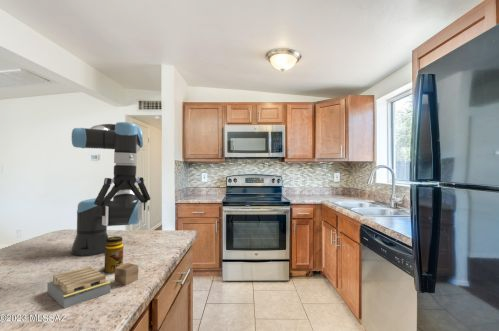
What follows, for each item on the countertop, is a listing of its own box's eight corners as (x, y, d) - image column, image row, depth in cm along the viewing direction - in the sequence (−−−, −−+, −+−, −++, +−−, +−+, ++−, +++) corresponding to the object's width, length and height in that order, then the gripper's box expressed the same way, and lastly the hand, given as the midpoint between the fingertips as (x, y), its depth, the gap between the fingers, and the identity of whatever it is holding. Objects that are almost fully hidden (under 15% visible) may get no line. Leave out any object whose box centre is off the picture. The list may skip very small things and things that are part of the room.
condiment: (121, 273, 94) (122, 240, 94) (95, 275, 92) (95, 241, 92) (126, 266, 101) (126, 234, 101) (101, 267, 99) (102, 235, 99)
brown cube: (114, 283, 86) (114, 267, 86) (126, 277, 91) (127, 262, 91) (125, 285, 84) (126, 270, 84) (137, 280, 89) (138, 265, 89)
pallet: (52, 282, 79) (52, 275, 79) (89, 272, 87) (89, 266, 87) (67, 294, 72) (67, 287, 72) (105, 282, 80) (105, 275, 80)
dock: (47, 292, 79) (47, 282, 79) (90, 279, 88) (91, 270, 88) (64, 308, 70) (64, 296, 70) (110, 292, 80) (110, 282, 80)
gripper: (94, 164, 85) (92, 229, 85) (160, 165, 106) (158, 218, 106) (83, 163, 90) (82, 226, 90) (149, 165, 110) (147, 215, 110)
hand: (123, 222), depth 98 cm, fingers open, 13 cm apart
